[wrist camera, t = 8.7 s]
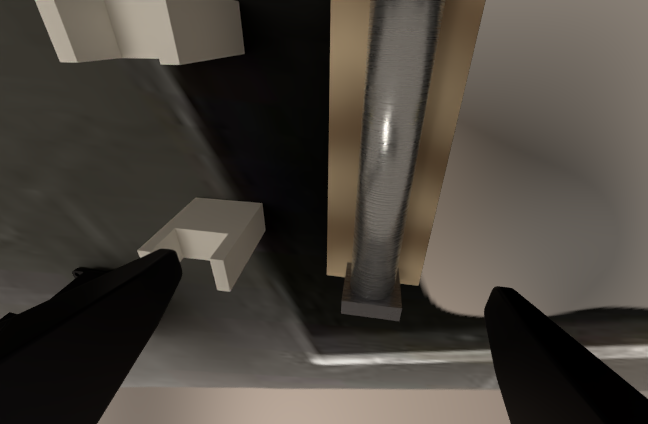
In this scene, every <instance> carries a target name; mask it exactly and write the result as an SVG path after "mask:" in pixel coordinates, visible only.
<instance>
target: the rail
mask: <svg viewBox="0 0 648 424" xmlns="http://www.w3.org/2000/svg"><path fill="white" fill-rule="evenodd" d="M444 6H445V0H370V13H369V27H368V41H367V55H366V69H365V83H364V97H363V111H362V125H361V139H360V153H359V168H358V182H357V196H356V210H355V224H354V238H353V252H352V263H349V262H347V268H346V275H345V282H344V289H343V296H342V306H341V313H342V314H349V315H357V316H364V317H372V318H379V319H387V320H394V321H399V320H400V315H401V310H402V304H401V291H400V278H399V268H398V263H399V258H400V252H401V247H402V241H403V235H404V230H405V224H406V219H407V213H408V207H409V202H410V196H411V191H412V185H413V179H414V174H415V168H416V163H417V157H418V151H419V146H420V140H421V134H422V129H423V123H424V118H425V112H426V106H427V101H428V95H429V90H430V84H431V78H432V73H433V67H434V62H435V56H436V50H437V45H438V39H439V34H440V28H441V22H442V17H443V11H444Z"/></svg>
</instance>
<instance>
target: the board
mask: <svg viewBox="0 0 648 424" xmlns="http://www.w3.org/2000/svg"><path fill="white" fill-rule="evenodd" d="M485 1H486V0H445V6H444V11H443V17H442V22H441V28H440V34H439V39H438V45H437V50H436V56H435V62H434V67H433V73H432V78H431V84H430V90H429V95H428V101H427V106H426V112H425V118H424V123H423V129H422V134H421V140H420V146H419V151H418V157H417V163H416V168H415V174H414V179H413V185H412V191H411V196H410V202H409V207H408V213H407V219H406V224H405V230H404V235H403V241H402V247H401V252H400V258H399V263H398V268H399V278H400V284H408V285H417V286H418V285H419V281H420V277H421V273H422V268H423V264H424V260H425V256H426V251H427V247H428V243H429V239H430V234H431V230H432V226H433V222H434V217H435V213H436V209H437V205H438V200H439V196H440V192H441V188H442V183H443V179H444V175H445V171H446V167H447V162H448V158H449V154H450V150H451V145H452V141H453V137H454V133H455V128H456V124H457V120H458V116H459V111H460V107H461V103H462V99H463V94H464V90H465V86H466V82H467V77H468V73H469V69H470V65H471V60H472V56H473V52H474V48H475V43H476V39H477V35H478V31H479V26H480V22H481V17H482V14H483V9H484V5H485ZM369 13H370V0H331V28H330V98H329V167H328V236H327V275H331V276H340V277H345V275H346V268H347V262H349V263H352V252H353V238H354V224H355V210H356V196H357V182H358V168H359V153H360V139H361V125H362V111H363V97H364V83H365V69H366V55H367V41H368V27H369Z"/></svg>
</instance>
